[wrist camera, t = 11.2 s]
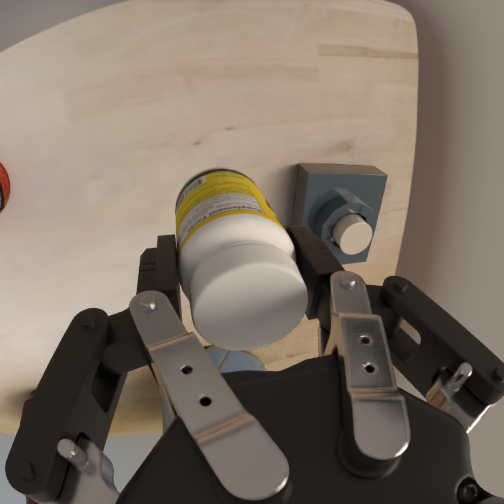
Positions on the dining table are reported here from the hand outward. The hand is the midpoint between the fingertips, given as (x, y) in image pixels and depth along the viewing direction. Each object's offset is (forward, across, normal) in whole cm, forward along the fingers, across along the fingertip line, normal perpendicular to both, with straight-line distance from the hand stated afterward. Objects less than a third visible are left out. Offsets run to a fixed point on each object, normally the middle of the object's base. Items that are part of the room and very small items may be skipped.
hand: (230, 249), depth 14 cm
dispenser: (+20, -16, +9) cm, 27 cm away
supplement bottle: (+5, 0, 0) cm, 5 cm away
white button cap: (+15, -16, +9) cm, 23 cm away
